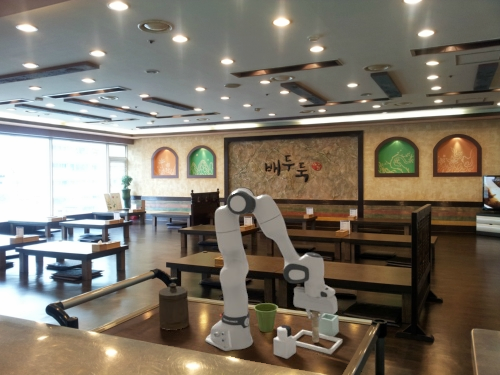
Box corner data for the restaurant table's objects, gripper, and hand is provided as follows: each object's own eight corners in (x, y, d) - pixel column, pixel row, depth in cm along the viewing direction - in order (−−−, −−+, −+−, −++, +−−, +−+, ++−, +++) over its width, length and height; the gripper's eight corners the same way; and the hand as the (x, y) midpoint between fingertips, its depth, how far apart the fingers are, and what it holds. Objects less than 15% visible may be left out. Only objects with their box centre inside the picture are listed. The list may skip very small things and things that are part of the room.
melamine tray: (289, 345, 187) (289, 340, 187) (302, 334, 198) (302, 329, 198) (330, 356, 176) (330, 350, 176) (342, 344, 186) (342, 339, 186)
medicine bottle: (282, 348, 185) (282, 322, 184) (296, 352, 180) (295, 326, 179) (273, 354, 179) (272, 327, 178) (287, 359, 175) (286, 331, 174)
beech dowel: (311, 341, 186) (310, 311, 185) (314, 339, 189) (313, 309, 188) (317, 343, 185) (316, 312, 183) (320, 340, 187) (319, 310, 186)
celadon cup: (318, 336, 195) (318, 317, 194) (324, 330, 201) (324, 312, 200) (332, 339, 191) (332, 320, 190) (338, 334, 197) (338, 315, 196)
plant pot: (276, 335, 198) (276, 312, 197) (252, 333, 200) (251, 311, 200) (280, 325, 210) (279, 303, 209) (257, 323, 212) (256, 302, 211)
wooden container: (192, 319, 221) (190, 278, 219) (185, 331, 206) (182, 288, 204) (164, 319, 222) (162, 279, 221) (156, 330, 208) (153, 288, 206)
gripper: (290, 287, 188) (291, 317, 189) (332, 295, 176) (333, 326, 178) (297, 283, 193) (297, 312, 194) (338, 290, 182) (339, 321, 183)
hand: (315, 319), depth 186 cm, fingers closed on beech dowel, 3 cm apart
